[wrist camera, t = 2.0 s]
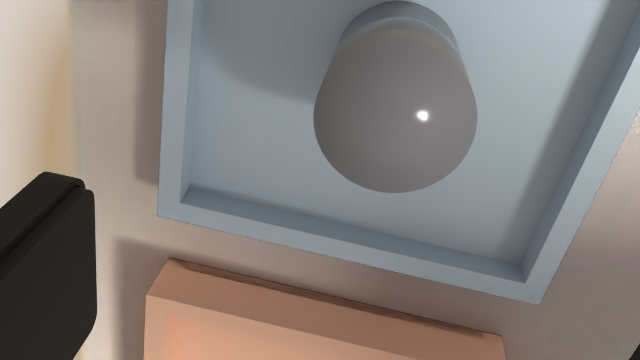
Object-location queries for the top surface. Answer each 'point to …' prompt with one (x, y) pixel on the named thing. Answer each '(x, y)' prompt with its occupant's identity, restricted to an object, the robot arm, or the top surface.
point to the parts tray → (416, 206)
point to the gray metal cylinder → (395, 100)
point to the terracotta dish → (288, 323)
